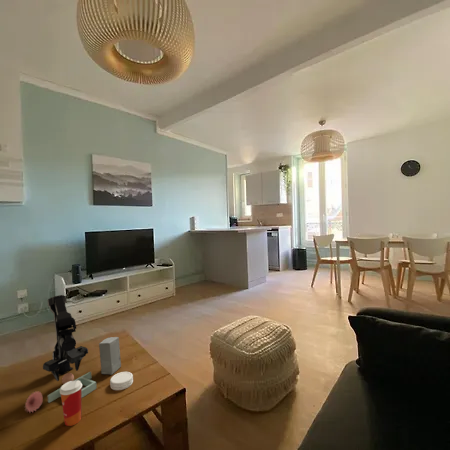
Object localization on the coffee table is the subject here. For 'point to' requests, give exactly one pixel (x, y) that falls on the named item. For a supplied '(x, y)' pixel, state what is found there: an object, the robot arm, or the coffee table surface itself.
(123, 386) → the coaster
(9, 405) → the coffee table surface
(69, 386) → the paper cup
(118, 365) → the skincare box
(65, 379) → the ball
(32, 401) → the flower
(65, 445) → the coffee table surface
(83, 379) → the sage green shelf frame
